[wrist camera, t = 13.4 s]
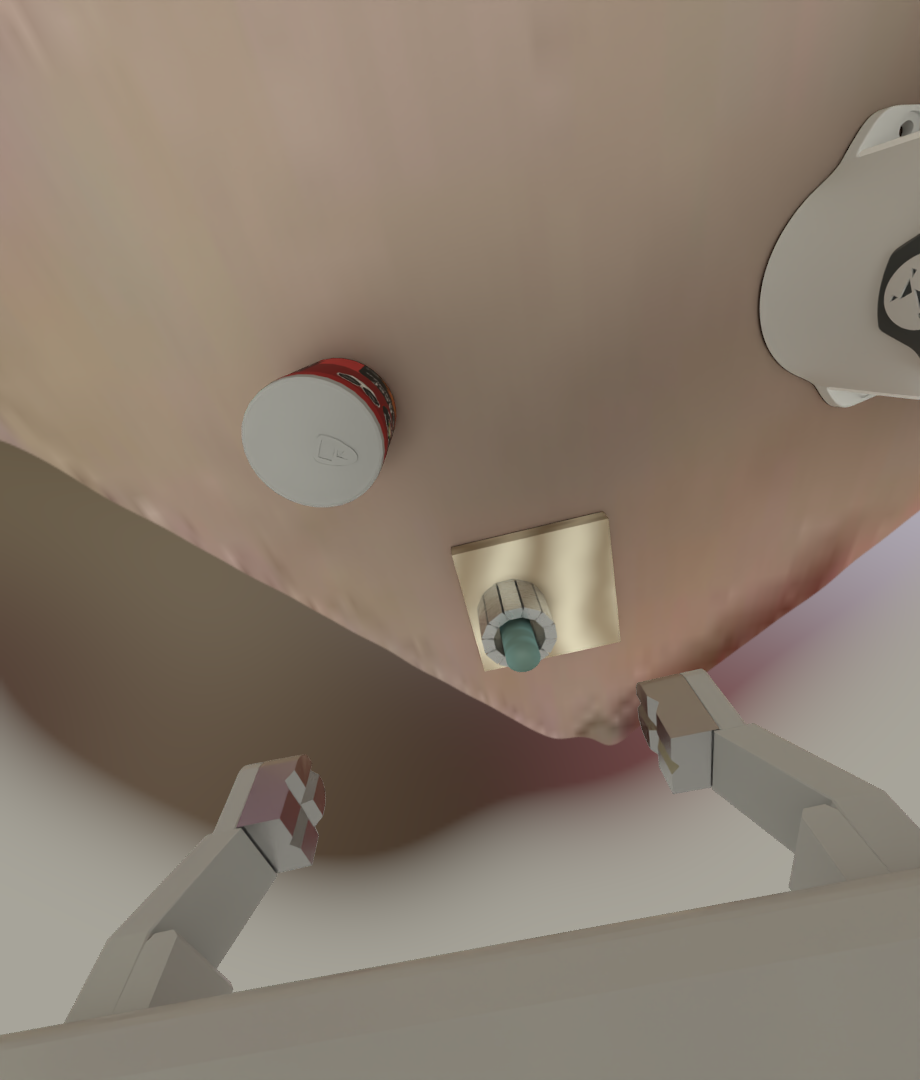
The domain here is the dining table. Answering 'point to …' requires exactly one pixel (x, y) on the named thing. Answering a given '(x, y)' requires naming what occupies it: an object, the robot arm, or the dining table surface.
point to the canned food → (320, 432)
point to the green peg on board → (546, 585)
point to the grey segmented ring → (514, 616)
